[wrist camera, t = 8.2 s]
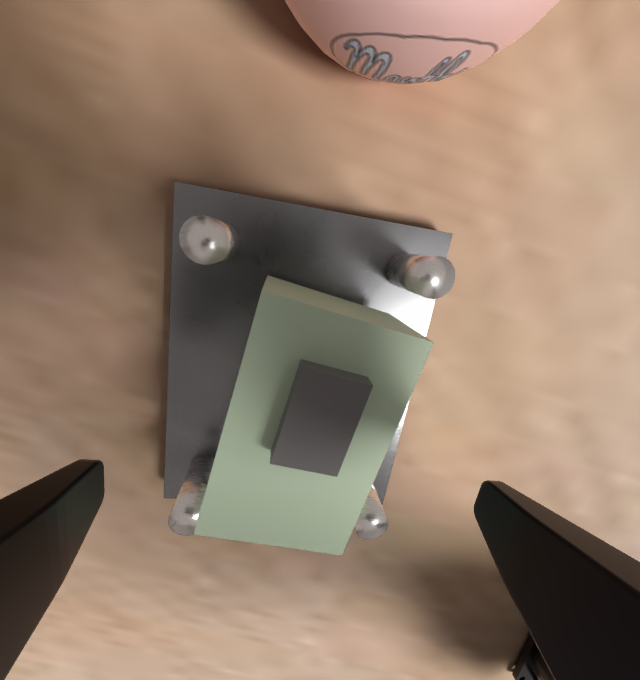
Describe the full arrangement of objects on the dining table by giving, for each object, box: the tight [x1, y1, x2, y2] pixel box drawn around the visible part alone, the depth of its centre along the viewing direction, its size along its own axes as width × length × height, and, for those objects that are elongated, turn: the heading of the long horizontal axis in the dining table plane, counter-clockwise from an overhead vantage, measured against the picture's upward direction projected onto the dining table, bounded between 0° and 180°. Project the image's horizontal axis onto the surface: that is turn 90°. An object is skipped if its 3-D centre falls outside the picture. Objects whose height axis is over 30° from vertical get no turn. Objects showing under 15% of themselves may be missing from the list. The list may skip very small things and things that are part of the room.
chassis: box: [164, 181, 455, 539], centre depth 13 cm, size 14×11×4 cm
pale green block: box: [194, 276, 434, 556], centre depth 11 cm, size 8×5×5 cm, turn 162°
